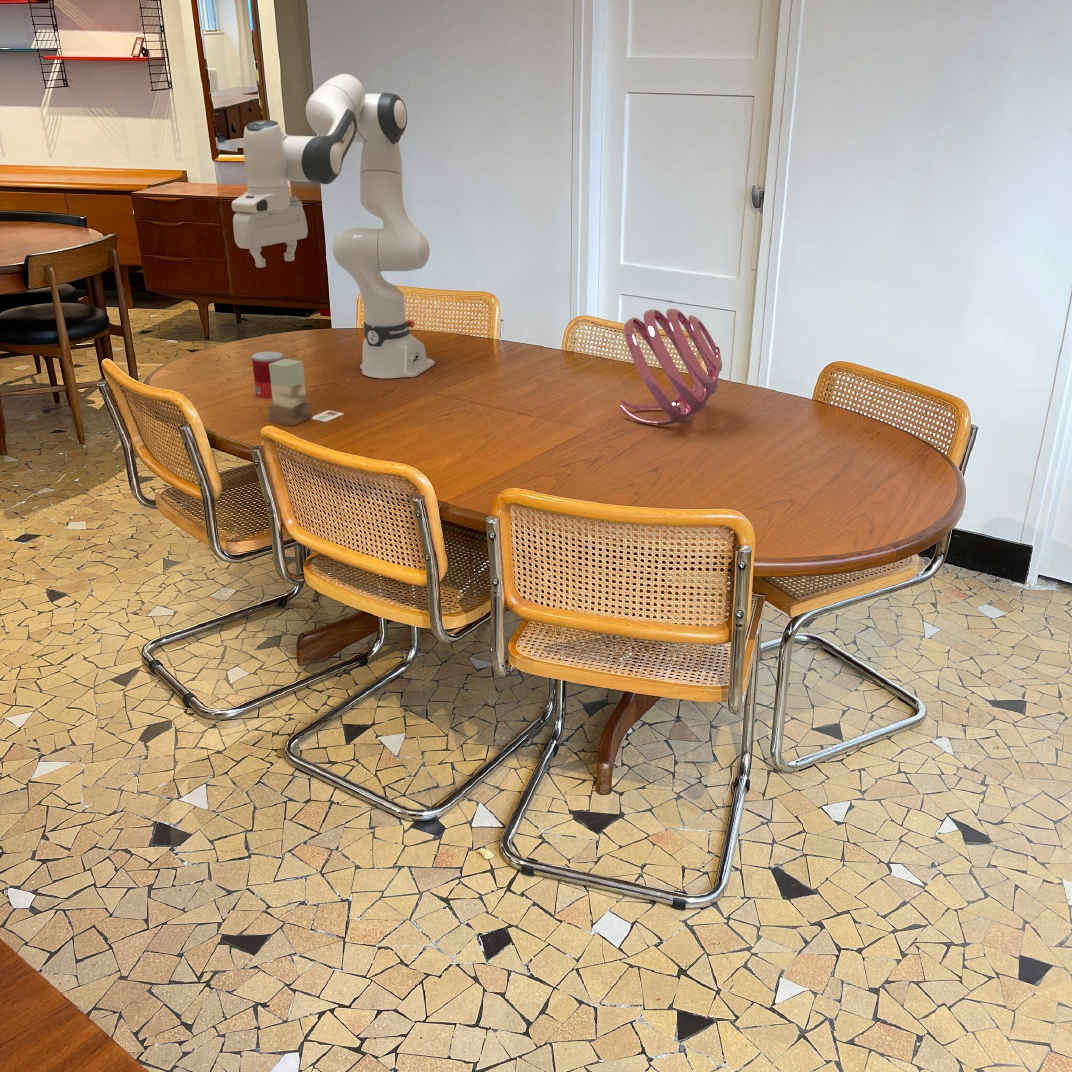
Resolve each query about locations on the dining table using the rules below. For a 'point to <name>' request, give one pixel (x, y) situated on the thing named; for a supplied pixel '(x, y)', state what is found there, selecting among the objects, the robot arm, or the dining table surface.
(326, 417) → the board
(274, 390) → the birch cube
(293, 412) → the walnut base
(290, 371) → the sage cube
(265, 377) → the canned food
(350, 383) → the dining table surface
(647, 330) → the spiral basket
